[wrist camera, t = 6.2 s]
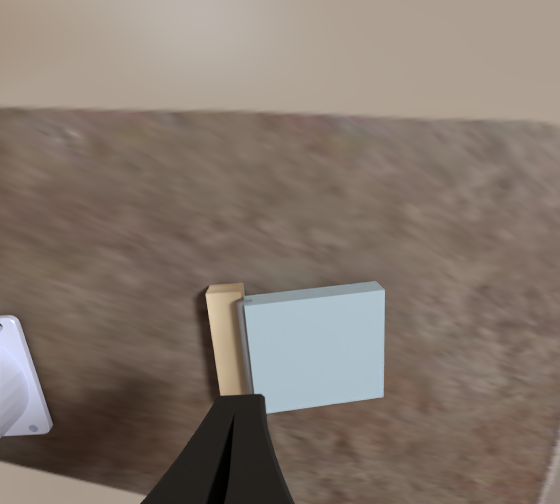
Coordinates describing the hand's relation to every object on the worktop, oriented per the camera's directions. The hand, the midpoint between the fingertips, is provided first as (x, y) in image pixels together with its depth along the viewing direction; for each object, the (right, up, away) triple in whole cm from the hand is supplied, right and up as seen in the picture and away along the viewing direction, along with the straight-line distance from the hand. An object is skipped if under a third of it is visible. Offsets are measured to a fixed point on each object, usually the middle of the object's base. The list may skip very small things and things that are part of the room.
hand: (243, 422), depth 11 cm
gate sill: (-2, 0, +10) cm, 10 cm away
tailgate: (-1, 0, +8) cm, 8 cm away
